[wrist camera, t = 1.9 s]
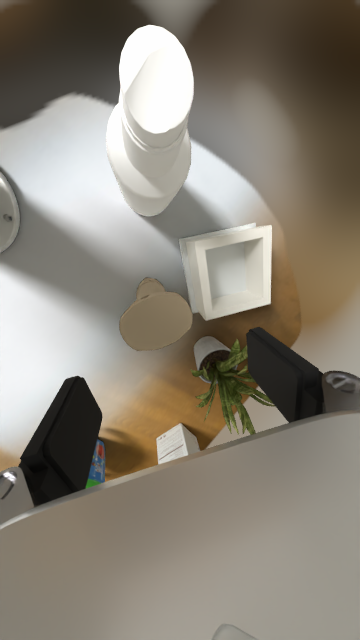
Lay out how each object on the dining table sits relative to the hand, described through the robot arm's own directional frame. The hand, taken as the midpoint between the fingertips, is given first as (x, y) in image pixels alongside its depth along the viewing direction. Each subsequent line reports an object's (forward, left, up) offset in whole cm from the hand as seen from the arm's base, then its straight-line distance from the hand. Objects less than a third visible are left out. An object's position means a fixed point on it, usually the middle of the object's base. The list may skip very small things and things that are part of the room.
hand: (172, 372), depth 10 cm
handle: (0, 0, -22) cm, 22 cm away
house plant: (+15, +8, -22) cm, 28 cm away
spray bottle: (-13, +3, -22) cm, 26 cm away
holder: (0, +12, -22) cm, 24 cm away
